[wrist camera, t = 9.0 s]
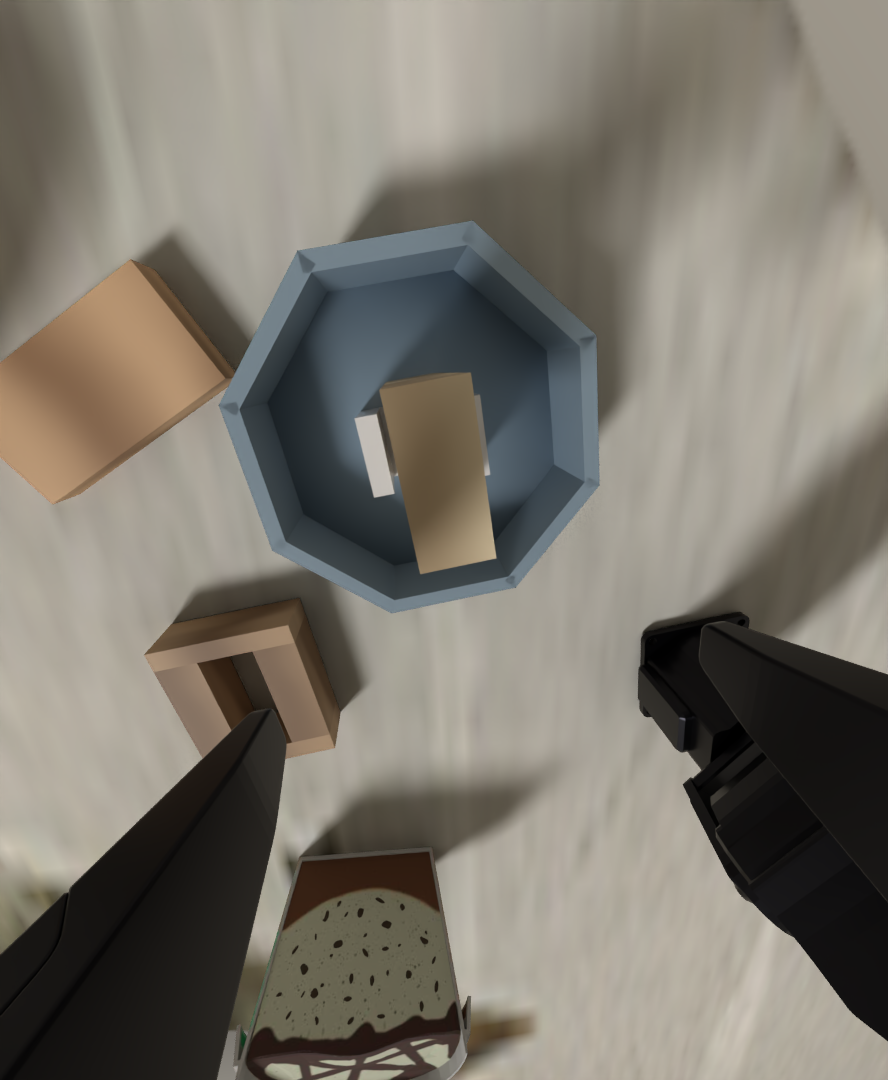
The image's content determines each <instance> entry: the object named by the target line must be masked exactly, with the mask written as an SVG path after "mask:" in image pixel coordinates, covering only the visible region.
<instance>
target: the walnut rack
mask: <svg viewBox="0 0 888 1080" xmlns="http://www.w3.org/2000/svg"><path fill="white" fill-rule="evenodd" d="M248 652H253V654H254V656H255V659H256V661H257V663H258V665H259V668H260V670H261V672H262V675H263V677H264V679H265V681H266V684H267V686H268V688H269V691H270V693H271V695H272V698H273V700H274V702H275V704H276V707H277V709H278V711H279V712H277V713H276V715H277V718H278V720H279V723H280V725H281V727H282V730H283V732H284V735H285V738H286V744H287V749H286V757H285V759H287V758H291V757H296V756H300V755H305V754H309V753H314V752H318V751H323V750H328V749H332V748H335V744H336V738H337V732H338V725H339V719H340V713H341V712H340V710H339V707H338V704H337V701H336V699H335V696H334V693H333V690H332V687H331V685H330V682H329V679H328V676H327V673H326V671H325V668H324V665H323V662H322V659H321V657H320V654H319V651H318V648H317V645H316V643H315V640H314V637H313V634H312V632H311V629H310V626H309V623H308V620H307V618H306V615H305V612H304V609H303V606H302V604H301V601H300V598H296V599H291V600H287V601H282V602H277V603H272V604H267V605H262V606H257V607H252V608H248V609H243V610H238V611H233V612H228V613H223V614H218V615H214V616H209V617H204V618H199V619H194V620H189V621H184V622H179V623H175V624H171V625H170V626H169V627H168V629H167V630H166V631H165V632H164V633H163V634H162V635H161V636H160V638H159V639H158V640H157V641H156V642H155V643H154V644H153V646H152V647H151V648H150V649H149V650H148V651H147V652H146V653H145V655H144V656H145V657H146V659H147V661H148V663H149V665H150V666H151V668H152V670H153V672H154V673H155V675H156V677H157V679H158V680H159V682H160V684H161V686H162V687H163V689H164V691H165V693H166V695H167V696H168V698H169V700H170V702H171V703H172V705H173V707H174V709H175V710H176V712H177V714H178V716H179V717H180V719H181V721H182V723H183V725H184V726H185V728H186V730H187V732H188V733H189V735H190V737H191V739H192V740H193V742H194V744H195V746H196V747H197V749H198V751H199V753H200V754H201V756H202V758H204V757H205V756H206V755H207V754H208V753H209V752H210V751H211V750H212V749H213V748H214V747H215V746H216V745H217V744H218V743H219V742H220V741H221V740H222V739H223V738H224V737H225V736H226V735H228V734H229V733H230V732H231V731H232V730H233V729H234V728H235V727H236V726H237V725H238V724H239V723H240V722H241V721H242V720H243V719H244V718H245V717H246V716H247V715H248V714H249V713H251V712H253V711H255V710H254V708H253V706H252V704H251V702H250V700H249V697H248V695H247V693H246V691H245V689H244V687H243V685H242V682H241V680H240V678H239V676H238V674H237V672H236V670H235V667H234V665H233V663H232V661H231V659H230V657H229V656H233V655H238V654H243V653H248Z"/></svg>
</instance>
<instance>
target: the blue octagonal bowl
mask: <svg viewBox="0 0 888 1080" xmlns="http://www.w3.org/2000/svg"><path fill="white" fill-rule="evenodd" d="M430 373H471V377H472V384H473V392H474V399H475V406H476V414H477V421H478V428H479V435H480V443H481V450H482V457H483V465H484V472H485V479H486V486H487V494H488V501H489V508H490V516H491V523H492V530H493V537H494V545H495V552H496V559H491V560H486V561H481V562H477V563H472V564H467V565H462V566H457V567H453V568H448V569H443V570H438V571H433V572H429V573H424V574H420V571H419V566H418V562H417V557H416V553H415V548H414V544H413V539H412V535H411V530H410V526H409V521H408V517H407V512H406V508H405V503H404V499H403V494H402V490H401V485H400V481H399V476H398V472H397V467H396V463H395V458H394V454H393V449H392V445H391V440H390V436H389V431H388V427H387V422H386V418H385V413H384V409H383V404H382V400H381V395H380V391H379V390H380V389H381V388H382V386H383V385H384V384H385V383H386V382H388V381H393V380H398V379H404V378H409V377H414V376H419V375H425V374H430ZM219 407H220V410H221V413H222V415H223V418H224V421H225V424H226V426H227V429H228V432H229V434H230V437H231V440H232V443H233V445H234V448H235V451H236V453H237V456H238V459H239V461H240V464H241V467H242V470H243V472H244V475H245V478H246V480H247V483H248V486H249V489H250V491H251V494H252V497H253V499H254V502H255V505H256V508H257V510H258V513H259V516H260V518H261V521H262V524H263V527H264V529H265V532H266V535H267V537H268V540H269V543H270V546H271V548H272V551H274V552H276V553H278V554H280V555H282V556H284V557H286V558H287V559H289V560H291V561H293V562H295V563H297V564H299V565H301V566H303V567H305V568H306V569H308V570H310V571H312V572H314V573H316V574H318V575H320V576H322V577H324V578H325V579H327V580H329V581H331V582H333V583H335V584H337V585H339V586H341V587H343V588H345V589H346V590H348V591H350V592H352V593H354V594H356V595H358V596H360V597H362V598H364V599H365V600H367V601H369V602H371V603H373V604H375V605H377V606H379V607H381V608H383V609H384V610H386V611H388V612H390V613H396V612H400V611H405V610H410V609H415V608H420V607H424V606H429V605H434V604H439V603H444V602H448V601H453V600H458V599H463V598H467V597H472V596H477V595H482V594H487V593H491V592H496V591H501V590H506V589H511V588H516V586H517V585H518V584H519V583H520V581H521V580H522V579H523V578H524V577H525V575H526V574H527V573H528V572H529V570H530V569H531V568H532V567H533V566H534V564H535V563H536V562H537V561H538V560H539V558H540V557H541V556H542V555H543V553H544V552H545V551H546V550H547V549H548V547H549V546H550V545H551V544H552V542H553V541H554V540H555V539H556V538H557V536H558V535H559V534H560V533H561V531H562V530H563V529H564V528H565V527H566V525H567V524H568V523H569V522H570V520H571V519H572V518H573V517H574V516H575V514H576V513H577V512H578V511H579V509H580V508H581V507H582V506H583V505H584V503H585V502H586V501H587V500H588V499H589V497H590V496H591V495H592V494H593V492H594V491H595V490H596V489H597V488H598V486H599V439H598V393H597V347H596V335H595V334H594V333H593V332H592V331H591V330H590V329H589V328H588V327H587V326H586V325H584V324H583V323H582V322H581V321H580V320H579V319H578V318H577V317H576V316H575V315H574V314H573V313H572V312H571V311H569V310H568V309H567V308H566V307H565V306H564V305H563V304H562V303H561V302H560V301H559V300H558V299H557V298H555V297H554V296H553V295H552V294H551V293H550V292H549V291H548V290H547V289H546V288H545V287H544V286H543V285H542V284H540V283H539V282H538V281H537V280H536V279H535V278H534V277H533V276H532V275H531V274H530V273H529V272H528V271H526V270H525V269H524V268H523V267H522V266H521V265H520V264H519V263H518V262H517V261H516V260H515V259H514V258H513V257H511V256H510V255H509V254H508V253H507V252H506V251H505V250H504V249H503V248H502V247H501V246H500V245H499V244H497V243H496V242H495V241H494V240H493V239H492V238H491V237H490V236H489V235H488V234H487V233H486V232H485V231H483V230H482V229H481V228H480V227H479V226H478V225H477V224H476V223H475V222H474V221H473V220H472V221H467V222H462V223H456V224H450V225H444V226H438V227H433V228H427V229H421V230H415V231H409V232H403V233H398V234H392V235H386V236H380V237H374V238H369V239H363V240H357V241H351V242H345V243H340V244H334V245H328V246H322V247H316V248H310V249H305V250H299V251H297V253H296V255H295V257H294V259H293V261H292V262H291V264H290V266H289V268H288V270H287V272H286V274H285V276H284V278H283V280H282V282H281V284H280V286H279V288H278V290H277V292H276V294H275V296H274V298H273V300H272V302H271V304H270V306H269V308H268V310H267V312H266V314H265V316H264V318H263V320H262V321H261V323H260V325H259V327H258V329H257V331H256V333H255V335H254V337H253V339H252V341H251V343H250V345H249V347H248V349H247V351H246V353H245V355H244V357H243V359H242V361H241V363H240V365H239V367H238V369H237V371H236V373H235V375H234V377H233V379H232V381H231V382H230V384H229V386H228V388H227V390H226V392H225V394H224V396H223V398H222V400H221V402H220V404H219Z"/></svg>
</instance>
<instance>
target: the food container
mask: <svg viewBox="0 0 888 1080" xmlns="http://www.w3.org/2000/svg"><path fill="white" fill-rule="evenodd" d="M470 1015H471V996H468V997H467V1001H466V1004H465V1005H464V1007H463V1009H462V1011H461V1006H460V1000H459V994H458V989H457V983H456V978H455V972H454V967H453V961H452V955H451V950H450V944H449V939H448V933H447V928H446V922H445V916H444V911H443V905H442V900H441V894H440V889H439V883H438V878H437V872H436V866H435V861H434V855H433V850H432V847H422V848H409V849H396V850H383V851H370V852H358V853H345V854H332V855H319V856H306V857H299V860H298V864H297V867H296V871H295V874H294V878H293V881H292V884H291V888H290V891H289V895H288V898H287V902H286V905H285V908H284V912H283V915H282V919H281V922H280V925H279V929H278V932H277V936H276V939H275V943H274V946H273V949H272V953H271V956H270V960H269V963H268V967H267V970H266V973H265V977H264V980H263V984H262V987H261V991H260V994H259V997H258V1001H257V1004H256V1008H255V1011H254V1014H253V1018H252V1021H251V1025H250V1028H249V1032H248V1035H247V1036H246V1034H245V1033H244V1031H243V1029H242V1027H241V1024H240V1025H238V1026H237V1032H236V1042H235V1053H234V1064H233V1067H234V1069H235V1071H236V1079H235V1080H449V1079H450V1078H451V1077H452V1076H453V1075H454V1074H455V1073H456V1072H457V1071H458V1070H459V1069H460V1067H461V1066H462V1064H463V1063H464V1061H465V1059H466V1056H467V1042H468V1039H469V1036H470Z"/></svg>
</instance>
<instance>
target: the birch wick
mask: <svg viewBox="0 0 888 1080" xmlns="http://www.w3.org/2000/svg"><path fill="white" fill-rule="evenodd" d="M379 391H380V395H381V400H382V404H383V409H384V413H385V418H386V422H387V427H388V431H389V436H390V440H391V445H392V449H393V454H394V458H395V463H396V467H397V472H398V476H399V481H400V485H401V490H402V494H403V499H404V503H405V508H406V512H407V517H408V521H409V526H410V530H411V535H412V539H413V544H414V548H415V553H416V557H417V562H418V566H419V571H420V574H424V573H429V572H433V571H438V570H443V569H448V568H453V567H457V566H462V565H467V564H472V563H477V562H481V561H486V560H491V559H496V552H495V545H494V537H493V530H492V523H491V516H490V508H489V501H488V494H487V486H486V479H485V472H484V465H483V457H482V450H481V443H480V435H479V428H478V421H477V414H476V406H475V399H474V392H473V384H472V377H471V373H430V374H425V375H419V376H414V377H409V378H404V379H398V380H393V381H388V382H386V383H385V384H384V385H383V386H382V388H381V389H380V390H379Z"/></svg>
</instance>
